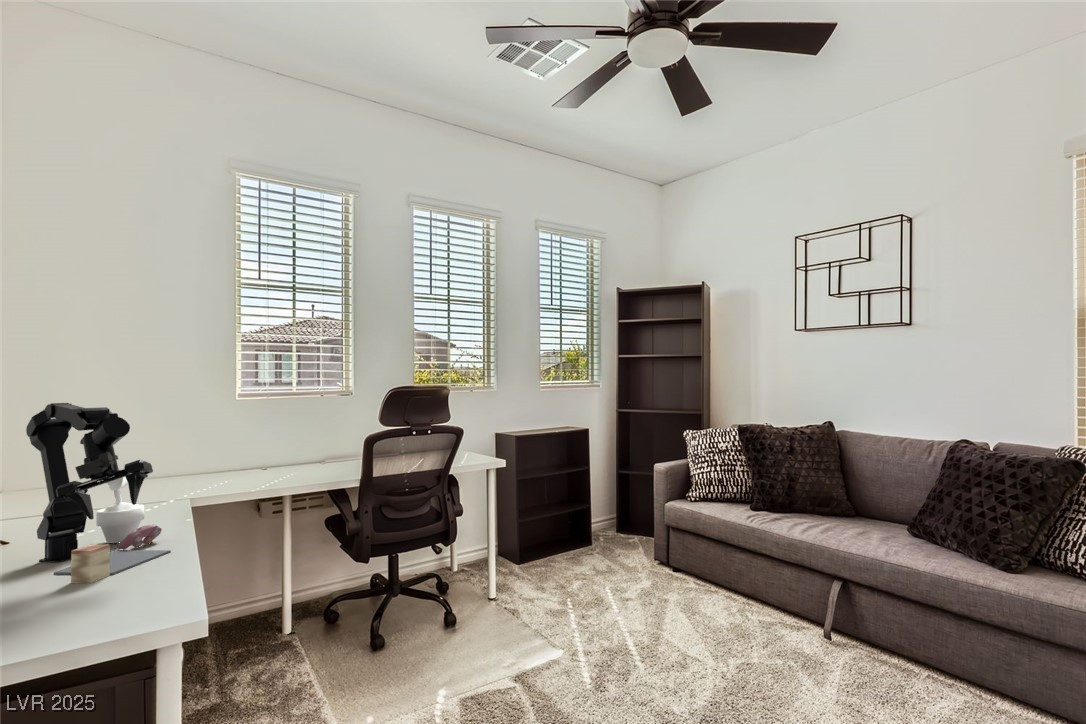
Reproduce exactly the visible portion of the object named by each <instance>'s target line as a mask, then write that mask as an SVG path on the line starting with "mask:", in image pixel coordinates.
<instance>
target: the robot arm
mask: <svg viewBox="0 0 1086 724" xmlns="http://www.w3.org/2000/svg"><path fill="white" fill-rule="evenodd" d="M130 425H131V424H130V423H128V421H127V420H125V418H122V417H120V416H119V415H118V413H117V412H112V411H111V410H110V409H109V408H108V407H105V406H102V407H84V406H83V407H82V406H79V405H74V404H72V403H69V402H53V403H50V404H49V403H48V404H47V405H45V408H44V409H43V410H41V411H39V412H38V413H36V414H34V415H33V416H31V418H30V420H29V421H28V424H27V425H26V429H25V431H26V432H25V433H26V436H27V437H28V438H29V441H30V445H32V446H33V447H34V448H35V449H36V450H38V451H39V452H40V454H41V461H42V468H43V473H44V479H45V486H46V489H47V497H48V500H49V501H48V504H47V506H46V508H45V509H44V511H43V513H42V514H43V518H42V519H41V521H40V523H39V526H38V527H37V529H36V536H37V540H38V539H39V540H43V541H44V558H41V559H38V562H39V563H48V562H49V563H61V562H65V561H67V560H70V559H71V551H72V550H75V549H78V548H79V547H78V545H79V543H78V541H79V540H78V534H80V533H81V534H83V533H85V528H86V523H87V518H88V519H89V520H91V521H92V520H93V519H94V508H93V504H92V499H91V494H88V492H89V490H90V489H92V488H96V487H98V486H101V485H104V484H108V483H107V482H110V481H113V480H116V479H119V478H122V477H126V479H127V482H128V484H127V486H128V489H129V490H128V491H129V497H130V502H131V504H133V505H135V504H137V501H138V498H139V494H140V491H141V488H142V485H143V482H144V480H145V479H146V478H149V474H152V473H153V472H154V470H153V465H152V464H151V463H150V462H148V461H145V460H143V459H137V460H134V461H130V463H129V462H128V463H124V465H123V467H124V468H123V469H119V466H118V461H117V460H119V457H118V456H119V455H117V454H116V452H115V448H114V445H117V443H118V442H119V441H121V440H122V439H123V438H124V437H126V436H127V435H128V434H129V432H130V429H131V426H130ZM72 428H74V429H75V430H76V431H79V432H80V431H89V432H88V433H84V435H83V436H82V438H81V439H80V442H79V443H80V445H83V450H84V454H85V457H84V458H83V464H80V465H78V466H75V472H76V473H77V476H78V478H79V480H83V479H85V480H86V481H84V482H81V481H77V480H73V481H70V478H69V472H68V466H67V465H68V464H67V462H66V455H65V450H64V445H65V444H66V442H67V440H68V438H69V436H70V435H69V432H70V431H71V429H72ZM89 479H90V480H89Z"/></svg>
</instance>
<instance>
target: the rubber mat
mask: <svg viewBox="0 0 1086 724" xmlns="http://www.w3.org/2000/svg"><path fill="white" fill-rule="evenodd" d="M169 553H171V549H170V550H169V549H167V550H165V549H163V550H161V549H160V550H156V549H155V550H154V549H153V550H151V549H150V550H148V549H147V550H145V549H143V550H142V549H141V550H140V549H139V550H138V549H137V550H136V549H135V550H134V549H133V550H131V549H128V550H127V549H125V550H119V549H118V550H114V551H111V552H110V576H114V575H117V574H118V573H121V571H122V572H124V571H127V570H129V569H131V568H134V567H137V566H139V565H142V564H144V563H147V562H149V561H152V560H154V559H156V558H159V557H162V556H164V555H167V554H169ZM126 569H127V570H126ZM116 573H117V574H116ZM53 575H70V576H71V566H68V567H66V568H62V569H59V570H57V571H53Z"/></svg>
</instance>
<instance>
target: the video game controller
mask: <svg viewBox="0 0 1086 724" xmlns="http://www.w3.org/2000/svg"><path fill="white" fill-rule="evenodd" d="M161 534H162V528H161V527H160V526H158V525H155V524H152V525H150V524H148V525H142V526H139V527H138V529H137V530H133V531H132V532H131V533H129V534H128V535H127V537H126V538H125V539H123V540H122V541H121V542H120V543H119V544H118V546H117V548H118V550H119V549H125V550H127V549H128V548H129V547H130V546H132V547H133V548H135V547H138V548H139V546H140V547H141V546H142V545H143V544H144V545H146V544H148V545H149V543H150V544H151V543H152V542H153V541H154V540H155V539H156V538H157V537H158V536H159V535H161Z"/></svg>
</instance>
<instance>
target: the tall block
mask: <svg viewBox="0 0 1086 724" xmlns="http://www.w3.org/2000/svg"><path fill="white" fill-rule="evenodd" d="M110 548H111V545H110V544H108V543H105V544H102V543H101V544H100V543H99V544H98V543H97V544H95V543H94V544H89V545H85V546H82V547H78V549H75V550H72V551H71V558H70V559H71V562H70V563H71V564H70V567H71V575H70V576H71V577H70V583H71V584H92V583H94V581H95V582H97V581H99V579H100V580H102V579H105V578H107V577H109V575H110V553H111V552H110V550H111V549H110ZM110 576H111V575H110ZM104 577H105V578H104ZM96 580H97V581H96Z"/></svg>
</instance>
